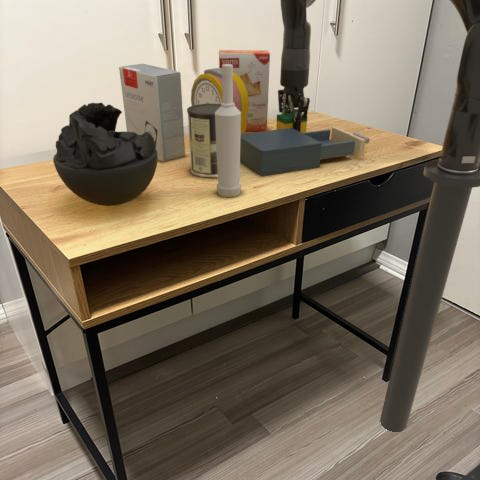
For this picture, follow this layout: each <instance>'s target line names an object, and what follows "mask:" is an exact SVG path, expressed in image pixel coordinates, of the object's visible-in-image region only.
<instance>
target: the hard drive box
mask: <svg viewBox="0 0 480 480" xmlns="http://www.w3.org/2000/svg"><path fill="white" fill-rule="evenodd" d="M118 69H119V75H120V76H119V78H120V79H119V80H120V86H121V93H122V94H121V95H122V101H123V109H124V110H123V111H124V119H125V127H126V132H135V133H136V134H138V135H142V134H144V133H145V132H149V133H150V134H151V135H152V137H153V138H154V144H155V149H156V150H157V153H158V159H157V161H160V162H162V163H164V162H168V161H171V160H175V159H178V158H182V157H185V156H186V144H185V143H186V142H185V130H184V129H185V127H184V126H185V125H184V111H183V110H184V109H183V94H182V93H183V91H182V75H181V72H180V71H178V70H173V69H168V68H164V67H160V66H157V65H151V64H147V63H137V64H131V65H121V66H119V67H118Z"/></svg>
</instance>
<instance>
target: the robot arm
mask: <svg viewBox="0 0 480 480" xmlns="http://www.w3.org/2000/svg"><path fill="white" fill-rule="evenodd" d="M279 1H280V2H279V3H280V12H281V19H282V20H281V21H282V25H283V33H282V50H281V57H280V58H281V59H280V75H279V76H280V78H279V84H280V86H281V87H283V89H278V90H277V99H278V100H277V101H278V112H279V113H280V114H288V113H292V115H293V129H295V130H297V131H299V132H300V129H301V121H303V120H306V118H307V119H308V112H309V107H310V102H311V99H310V97H305V91H304V89H305V88H306V87H308V86H309V77H310V65H311V64H310V62H311V38H312V37H311V35H312V26H311V23H310V22H309V21H308V18H307V16H308V15H307V8H309V7H311V6H312V5H314V3H315V2H316V1H317V0H279ZM449 1H450V2H451V4H452V5H453V6H454V8H455V9H456V11H457V13H458V15H459V17H460V19H461V22H462V24H463V26H464V29H465V32H466V36H465V39H464V42H463V46H462V49H461V50H462V51H461V55H460V60H459V65H458V70H457V74H456V82H455V91H454V95H453V99H452V104H451V108H450V112H449V117H448V122H447V125H446V130H445V135H444V138H443V139H444V140H443V144H442V147H441V152H440V157H439V159H440V160H439V163H438V168H439V169H440V170H442V171H444V172H447V173H451V174H457V175H470V174H475V173H476V172H477V171H478V170H480V0H449ZM296 112H297V117H296ZM302 114H303V115H302Z"/></svg>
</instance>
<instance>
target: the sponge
mask: <svg viewBox="0 0 480 480" xmlns="http://www.w3.org/2000/svg"><path fill="white" fill-rule="evenodd" d="M302 115H303V113H302ZM296 117H297V112H296ZM307 127H308V117H307V118H306V120H303V121H301V129H300V132H301V133H305V132H307ZM286 128H293V115H292V113H288V114H282V113H280V114H276V129H275V130H278V129H286Z"/></svg>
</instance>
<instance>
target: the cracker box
mask: <svg viewBox="0 0 480 480" xmlns="http://www.w3.org/2000/svg"><path fill="white" fill-rule="evenodd" d="M270 61H271V53H270V51H269V50H267V49H264V50H261V49H259V50H258V49H256V50H255V49H219V50H218V68H221V69H222V65H224V64H231V65H233V72H234V73H236V74H238V76H239V77H240V78H241V80H242V81H243V82H244V85H245V88H246V90H247V93H248V101H249V108H248V116H247V124H246V132H262V131H268V114H269V113H268V111H269V110H268V109H269V87H270V65H271V64H270Z"/></svg>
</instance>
